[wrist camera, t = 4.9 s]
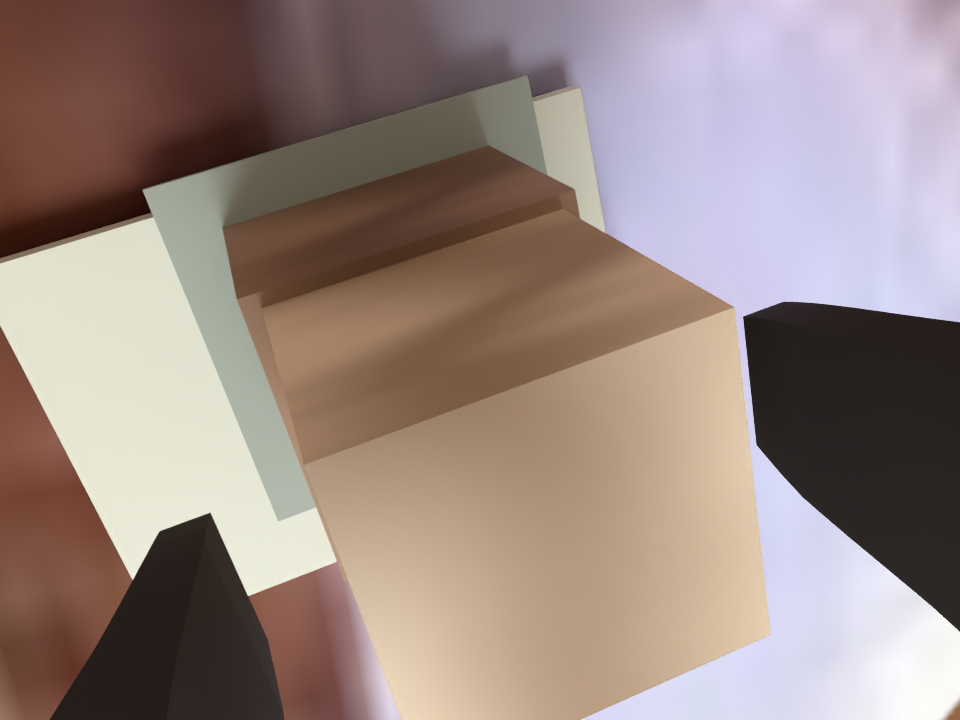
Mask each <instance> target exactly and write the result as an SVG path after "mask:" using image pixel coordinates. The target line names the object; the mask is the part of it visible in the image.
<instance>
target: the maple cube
mask: <svg viewBox="0 0 960 720" xmlns="http://www.w3.org/2000/svg"><path fill="white" fill-rule="evenodd" d="M261 309H262V312H263V316H264V320H265V323H266V327H267V331H268V334H269V338H270V342H271V345H272V349H273V353H274V356H275V360H276V364H277V367H278V371H279V375H280V378H281V382H282V386H283V389H284V393H285V397H286V400H287V404H288V408H289V411H290V415H291V419H292V422H293V426H294V429H295V433H296V437H297V440H298V444H299V448H300V451H301V455H302V459H303V462H304V466H305V468H306V471H307V474H308V476H309V479H310V481H311V484H312V487H313V489H314V492H315V495H316V497H317V500H318V502H319V505H320V508H321V510H322V513H323V515H324V518H325V521H326V523H327V526H328V529H329V531H330V534H331V536H332V539H333V542H334V544H335V547H336V550H337V552H338V555H339V557H340V560H341V563H342V565H343V568H344V570H345V573H346V576H347V578H348V581H349V584H350V586H351V589H352V591H353V594H354V597H355V599H356V602H357V605H358V607H359V610H360V612H361V615H362V618H363V620H364V623H365V625H366V628H367V631H368V633H369V636H370V639H371V641H372V644H373V646H374V649H375V652H376V654H377V657H378V659H379V662H380V665H381V667H382V670H383V673H384V675H385V678H386V680H387V683H388V686H389V688H390V691H391V694H392V696H393V699H394V701H395V704H396V707H397V709H398V712H399V714H400V717H401V720H580V719H583V718H585V717H587V716H589V715H592V714H594V713H596V712H598V711H601V710H603V709H605V708H607V707H610V706H612V705H614V704H616V703H619V702H621V701H623V700H625V699H628V698H630V697H632V696H634V695H637V694H639V693H641V692H643V691H646V690H648V689H650V688H652V687H655V686H657V685H659V684H661V683H663V682H666V681H668V680H670V679H672V678H675V677H677V676H679V675H681V674H684V673H686V672H688V671H690V670H693V669H695V668H697V667H699V666H702V665H704V664H706V663H708V662H711V661H713V660H715V659H717V658H720V657H722V656H724V655H726V654H729V653H731V652H733V651H735V650H738V649H740V648H742V647H744V646H747V645H749V644H751V643H753V642H756V641H758V640H760V639H762V638H765V637H767V636H769V635H770V626H769V617H768V607H767V598H766V589H765V580H764V571H763V562H762V553H761V544H760V535H759V526H758V517H757V508H756V499H755V490H754V481H753V472H752V463H751V454H750V445H749V436H748V427H747V418H746V409H745V400H744V391H743V381H742V372H741V363H740V354H739V345H738V336H737V327H736V318H735V309H734V307H733V306H731V305H729V304H728V303H726V302H724V301H722V300H721V299H719V298H717V297H715V296H714V295H712V294H710V293H708V292H707V291H705V290H703V289H702V288H700V287H698V286H696V285H695V284H693V283H691V282H689V281H688V280H686V279H684V278H682V277H681V276H679V275H677V274H675V273H674V272H672V271H670V270H668V269H667V268H665V267H663V266H662V265H660V264H658V263H656V262H655V261H653V260H651V259H649V258H648V257H646V256H644V255H642V254H641V253H639V252H637V251H635V250H634V249H632V248H630V247H628V246H627V245H625V244H623V243H622V242H620V241H618V240H616V239H615V238H613V237H611V236H609V235H608V234H606V233H604V232H602V231H601V230H599V229H597V228H595V227H594V226H592V225H590V224H588V223H587V222H585V221H583V220H582V219H580V218H578V217H576V216H575V215H573V214H571V213H569V212H568V211H566V210H564V209H560V210H557V211H554V212H551V213H548V214H545V215H542V216H539V217H536V218H533V219H530V220H527V221H524V222H521V223H518V224H515V225H512V226H509V227H506V228H503V229H500V230H497V231H494V232H491V233H488V234H485V235H482V236H479V237H476V238H473V239H470V240H467V241H464V242H461V243H458V244H455V245H452V246H449V247H446V248H442V249H439V250H436V251H433V252H430V253H427V254H424V255H421V256H418V257H415V258H412V259H409V260H406V261H403V262H400V263H397V264H394V265H391V266H388V267H385V268H382V269H379V270H376V271H373V272H370V273H367V274H364V275H361V276H358V277H355V278H352V279H349V280H346V281H343V282H340V283H337V284H334V285H331V286H328V287H325V288H321V289H318V290H315V291H312V292H309V293H306V294H303V295H300V296H297V297H294V298H291V299H288V300H285V301H282V302H279V303H276V304H273V305H270V306H267V307H264V308H261Z"/></svg>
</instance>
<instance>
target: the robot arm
mask: <svg viewBox="0 0 960 720" xmlns="http://www.w3.org/2000/svg"><path fill="white" fill-rule="evenodd" d="M743 319H744V329H745V338H746V348H747V357H748V367H749V377H750V386H751V396H752V405H753V415H754V424H755V434H756V443H757V446H758V447H759V448H760V449H761V451H762V452H763V453H764V454H765V455H766V457H767V458H768V459H769V460H770V461H771V462H772V464H773V465H774V466H775V467H776V468H777V469H778V471H779V472H780V473H781V474H782V475H783V476H784V477H785V478H786V480H787V481H788V482H789V483H790V484H791V485H792V486H793V487H794V488H795V489H796V490H797V491H798V493H799V494H800V495H801V496H802V497H803V498H804V499H805V500H807V501H808V502H809V503H810V504H811V505H812V506H813V507H815V508H816V509H817V510H818V511H819V512H820V513H821V514H823V515H824V516H825V517H826V518H827V519H829V520H830V521H831V522H832V523H833V524H834V525H836V526H837V527H838V528H839V529H840V530H841V531H843V532H844V533H845V534H846V535H847V536H848V537H850V538H851V539H852V540H853V541H854V542H856V543H857V544H858V545H859V546H861V547H862V548H863V549H864V550H865V551H867V552H868V553H869V554H870V555H871V556H873V557H874V558H875V559H876V560H877V561H879V562H880V563H881V564H882V565H883V566H885V567H886V568H887V569H888V570H889V571H891V572H892V573H893V574H894V575H895V576H897V577H898V578H899V579H900V580H901V581H903V582H904V583H905V584H906V585H907V586H909V587H910V588H911V589H912V590H913V591H915V592H916V593H917V594H918V595H919V596H921V597H922V598H923V599H924V600H925V601H926V602H928V603H929V604H930V605H931V606H932V607H933V608H935V609H936V610H937V611H938V612H939V613H940V614H941V615H942V616H943V617H944V618H946V619H947V620H948V621H949V622H950V623H951V624H952V625H953V626H954V627H955V628H957V629H958V630H959V631H960V322H953V321H945V320H937V319H930V318H923V317H915V316H908V315H901V314H894V313H887V312H880V311H873V310H865V309H858V308H851V307H843V306H835V305H826V304H816V303H803V302H782V303H779V304H776V305H774V306H771V307H768V308H765V309H763V310H760V311H757V312H755V313H752V314H749V315H746V316H744V317H743ZM50 720H284V714H283V708H282V704H281V699H280V694H279V689H278V684H277V679H276V675H275V671H274V666H273V662H272V657H271V653H270V648H269V644H268V639H267V637H266V635H265V633H264V631H263V628H262V626H261V624H260V622H259V619H258V617H257V615H256V613H255V611H254V608H253V606H252V604H251V602H250V599H249V597H248V595H247V593H246V591H245V588H244V586H243V584H242V582H241V579H240V577H239V575H238V573H237V571H236V568H235V566H234V564H233V562H232V559H231V557H230V555H229V553H228V551H227V548H226V546H225V544H224V542H223V539H222V537H221V535H220V533H219V530H218V528H217V526H216V524H215V522H214V519H213V517H212V515H211V513H208V514H205V515H202V516H199V517H197V518H194V519H191V520H189V521H186V522H183V523H180V524H178V525H175V526H172V527H170V528H167V529H164V530H161V531H159V533H158V535H157V536H156V538H155V540H154V542H153V544H152V545H151V547H150V549H149V551H148V553H147V555H146V556H145V558H144V560H143V562H142V564H141V566H140V568H139V569H138V571H137V573H136V575H135V577H134V579H133V581H132V583H131V584H130V586H129V588H128V590H127V592H126V594H125V596H124V598H123V599H122V601H121V603H120V605H119V607H118V609H117V611H116V612H115V614H114V616H113V618H112V619H111V621H110V623H109V625H108V626H107V628H106V630H105V632H104V634H103V635H102V637H101V639H100V641H99V642H98V644H97V646H96V648H95V649H94V651H93V653H92V654H91V656H90V657H89V659H88V660H87V662H86V664H85V665H84V667H83V668H82V670H81V671H80V673H79V675H78V676H77V678H76V679H75V681H74V682H73V684H72V686H71V687H70V689H69V690H68V692H67V693H66V695H65V697H64V698H63V700H62V701H61V703H60V704H59V706H58V708H57V709H56V711H55V712H54V714H53V715H52V717H51V719H50Z"/></svg>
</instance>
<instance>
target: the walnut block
mask: <svg viewBox="0 0 960 720" xmlns="http://www.w3.org/2000/svg"><path fill="white" fill-rule="evenodd" d="M560 209H564V210H566V211H568V212H569V213H571V214H573V215H575V216H576V217H578V218H580V214H579V209H578V203H577V198H576V192H575V189H573V188H571V187H569V186H568V185H566V184H564V183H562V182H560V181H558V180H556V179H554V178H552V177H550V176H548V175H546V174H544V173H542V172H540V171H538V170H536V169H534V168H532V167H530V166H528V165H526V164H524V163H522V162H520V161H518V160H516V159H514V158H513V157H511V156H509V155H507V154H505V153H503V152H501V151H499V150H497V149H495V148H493V147H491V146H489V145H488V146H485V147H482V148H479V149H476V150H472V151H469V152H466V153H463V154H459V155H456V156H453V157H450V158H447V159H443V160H440V161H437V162H434V163H430V164H427V165H424V166H421V167H417V168H414V169H411V170H408V171H405V172H401V173H398V174H395V175H392V176H388V177H385V178H382V179H379V180H375V181H372V182H369V183H366V184H363V185H359V186H356V187H353V188H350V189H346V190H343V191H340V192H337V193H334V194H330V195H327V196H324V197H321V198H317V199H314V200H311V201H308V202H304V203H301V204H298V205H295V206H292V207H288V208H285V209H282V210H279V211H275V212H272V213H269V214H266V215H263V216H259V217H256V218H253V219H250V220H246V221H243V222H240V223H237V224H233V225H230V226H227V227H224V228H222V229H223V234H224V239H225V244H226V249H227V254H228V259H229V264H230V269H231V274H232V279H233V283H234V288H235V293H236V298H237V301H238V304H239V307H240V309H241V312H242V314H243V317H244V320H245V322H246V325H247V328H248V330H249V333H250V335H251V338H252V341H253V343H254V346H255V348H256V351H257V354H258V356H259V359H260V362H261V364H262V367H263V369H264V372H265V375H266V377H267V380H268V382H269V385H270V388H271V390H272V393H273V396H274V398H275V401H276V403H277V406H278V409H279V411H280V414H281V416H282V419H283V422H284V424H285V427H286V430H287V432H288V435H289V437H290V440H291V443H292V445H293V448H294V450H295V453H296V456H297V458H298V461H299V464H300V466H301V469H302V471H303V474H304V477H305V479H306V482H307V484H308V487H309V490H310V492H311V495H312V498H313V500H314V503H315V505H316V508H317V511H318V513H319V516H320V518H321V521H322V524H323V526H324V529H325V532H326V534H327V537H328V539H329V542H330V545H331V547H332V550H333V552H334V555H335V558H336V560H337V563H338V565H339V568H340V571H341V573H342V576H343V579H344V581H345V582H346V581H348V578H347V576H346V573H345V570H344V568H343V565H342V563H341V560H340V557H339V555H338V552H337V550H336V547H335V544H334V542H333V539H332V536H331V534H330V531H329V529H328V526H327V523H326V521H325V518H324V515H323V513H322V510H321V508H320V505H319V502H318V500H317V497H316V495H315V492H314V489H313V487H312V484H311V481H310V479H309V476H308V474H307V471H306V468H305V466H304V462H303V459H302V455H301V451H300V448H299V444H298V440H297V437H296V433H295V429H294V426H293V422H292V419H291V415H290V411H289V408H288V404H287V400H286V397H285V393H284V389H283V386H282V382H281V378H280V375H279V371H278V367H277V364H276V360H275V356H274V353H273V349H272V345H271V342H270V338H269V334H268V331H267V327H266V323H265V320H264V316H263V312H262V309H261V308H264V307H267V306H270V305H273V304H276V303H279V302H282V301H285V300H288V299H291V298H294V297H297V296H300V295H303V294H306V293H309V292H312V291H315V290H318V289H321V288H325V287H328V286H331V285H334V284H337V283H340V282H343V281H346V280H349V279H352V278H355V277H358V276H361V275H364V274H367V273H370V272H373V271H376V270H379V269H382V268H385V267H388V266H391V265H394V264H397V263H400V262H403V261H406V260H409V259H412V258H415V257H418V256H421V255H424V254H427V253H430V252H433V251H436V250H439V249H442V248H446V247H449V246H452V245H455V244H458V243H461V242H464V241H467V240H470V239H473V238H476V237H479V236H482V235H485V234H488V233H491V232H494V231H497V230H500V229H503V228H506V227H509V226H512V225H515V224H518V223H521V222H524V221H527V220H530V219H533V218H536V217H539V216H542V215H545V214H548V213H551V212H554V211H557V210H560Z"/></svg>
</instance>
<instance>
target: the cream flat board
mask: <svg viewBox="0 0 960 720" xmlns="http://www.w3.org/2000/svg"><path fill="white" fill-rule="evenodd" d="M488 145H489V146H491V147H493V148H495V149H497V150H499V151H501V152H503V153H505V154H507V155H509V156H511V157H513V158H514V159H516V160H518V161H520V162H522V163H524V164H526V165H528V166H530V167H532V168H534V169H536V170H538V171H540V172H542V173H544V174H546V175H548V176H550V177H552V178H554V179H556V180H558V181H560V182H562V183H564V184H566V185H568V186H569V187H571V188H573V189H575V192H576V198H577V203H578V209H579V214H580V219H582V220H583V221H585V222H587V223H588V224H590V225H592V226H594V227H595V228H597V229H599V230H601V231H602V232H604V233H606V231H605V226H604V220H603V214H602V208H601V203H600V197H599V191H598V185H597V179H596V174H595V168H594V162H593V156H592V151H591V145H590V139H589V133H588V127H587V122H586V116H585V110H584V104H583V99H582V93H581V88H580V87H576V86H569V87H565V88H562V89H559V90H555V91H552V92H549V93H546V94H542V95H539V96H536V97H532V94H531V89H530V84H529V79H528V75H525V76H521V77H518V78H514V79H511V80H508V81H504V82H501V83H498V84H494V85H491V86H487V87H484V88H481V89H477V90H474V91H471V92H467V93H464V94H461V95H457V96H454V97H450V98H447V99H444V100H440V101H437V102H434V103H430V104H427V105H423V106H420V107H417V108H413V109H410V110H407V111H403V112H400V113H397V114H393V115H390V116H386V117H383V118H380V119H376V120H373V121H370V122H366V123H363V124H359V125H356V126H353V127H349V128H346V129H343V130H339V131H336V132H333V133H329V134H326V135H322V136H319V137H316V138H312V139H309V140H306V141H302V142H299V143H296V144H292V145H289V146H285V147H282V148H279V149H275V150H272V151H269V152H265V153H262V154H258V155H255V156H252V157H248V158H245V159H242V160H238V161H235V162H232V163H228V164H225V165H221V166H218V167H215V168H211V169H208V170H205V171H201V172H198V173H194V174H191V175H188V176H184V177H181V178H178V179H174V180H171V181H168V182H164V183H161V184H157V185H154V186H151V187H147V188H144V189H143V193H144V195H145V198H146V200H147V202H148V205H149V207H150V210H151V212H152V213H148V214H145V215H142V216H139V217H135V218H132V219H129V220H125V221H122V222H119V223H115V224H112V225H109V226H105V227H102V228H99V229H96V230H92V231H89V232H86V233H82V234H79V235H76V236H72V237H69V238H66V239H62V240H59V241H56V242H53V243H49V244H46V245H43V246H39V247H36V248H33V249H29V250H26V251H23V252H19V253H16V254H13V255H10V256H6V257H3V258H0V326H1V328H2V330H3V332H4V333H5V335H6V337H7V339H8V341H9V343H10V345H11V347H12V349H13V351H14V353H15V355H16V357H17V358H18V360H19V362H20V364H21V366H22V368H23V370H24V372H25V374H26V376H27V378H28V380H29V382H30V383H31V385H32V387H33V389H34V391H35V393H36V395H37V397H38V399H39V401H40V403H41V405H42V407H43V408H44V410H45V412H46V414H47V416H48V418H49V420H50V422H51V424H52V426H53V428H54V430H55V432H56V433H57V435H58V437H59V439H60V441H61V443H62V445H63V447H64V449H65V451H66V453H67V455H68V457H69V458H70V460H71V462H72V464H73V466H74V468H75V470H76V472H77V474H78V476H79V478H80V480H81V482H82V483H83V485H84V487H85V489H86V491H87V493H88V495H89V497H90V499H91V501H92V503H93V505H94V507H95V508H96V510H97V512H98V514H99V516H100V518H101V520H102V522H103V524H104V526H105V528H106V530H107V532H108V533H109V535H110V537H111V539H112V541H113V543H114V545H115V547H116V549H117V551H118V553H119V555H120V557H121V558H122V560H123V562H124V564H125V566H126V568H127V570H128V572H129V574H130V576H131V578H132V580H133V579H134V577H135V575H136V573H137V571H138V569H139V568H140V566H141V564H142V562H143V560H144V558H145V556H146V555H147V553H148V551H149V549H150V547H151V545H152V544H153V542H154V540H155V538H156V536H157V535H158V533H159V531H161V530H164V529H167V528H170V527H172V526H175V525H178V524H180V523H183V522H186V521H189V520H191V519H194V518H197V517H199V516H202V515H205V514H208V513H211V515H212V517H213V519H214V522H215V524H216V526H217V528H218V530H219V533H220V535H221V537H222V539H223V542H224V544H225V546H226V548H227V551H228V553H229V555H230V557H231V559H232V562H233V564H234V566H235V568H236V571H237V573H238V575H239V577H240V579H241V582H242V584H243V586H244V588H245V591H246V593H247V595H248V596H249V595H252V594H255V593H257V592H260V591H262V590H265V589H267V588H270V587H273V586H275V585H278V584H280V583H283V582H286V581H288V580H291V579H293V578H296V577H298V576H301V575H304V574H306V573H309V572H311V571H314V570H317V569H319V568H322V567H324V566H327V565H329V564H332V563H335V562H337V560H336V558H335V555H334V552H333V550H332V547H331V545H330V542H329V539H328V537H327V534H326V532H325V529H324V526H323V524H322V521H321V518H320V516H319V513H318V511H317V508H316V505H315V503H314V500H313V498H312V495H311V492H310V490H309V487H308V484H307V482H306V479H305V477H304V474H303V471H302V469H301V466H300V464H299V461H298V458H297V456H296V453H295V450H294V448H293V445H292V443H291V440H290V437H289V435H288V432H287V430H286V427H285V424H284V422H283V419H282V416H281V414H280V411H279V409H278V406H277V403H276V401H275V398H274V396H273V393H272V390H271V388H270V385H269V382H268V380H267V377H266V375H265V372H264V369H263V367H262V364H261V362H260V359H259V356H258V354H257V351H256V348H255V346H254V343H253V341H252V338H251V335H250V333H249V330H248V328H247V325H246V322H245V320H244V317H243V314H242V312H241V309H240V307H239V304H238V301H237V298H236V293H235V288H234V283H233V279H232V274H231V269H230V264H229V259H228V254H227V249H226V244H225V239H224V234H223V229H222V228H224V227H227V226H230V225H233V224H237V223H240V222H243V221H246V220H250V219H253V218H256V217H259V216H263V215H266V214H269V213H272V212H275V211H279V210H282V209H285V208H288V207H292V206H295V205H298V204H301V203H304V202H308V201H311V200H314V199H317V198H321V197H324V196H327V195H330V194H334V193H337V192H340V191H343V190H346V189H350V188H353V187H356V186H359V185H363V184H366V183H369V182H372V181H375V180H379V179H382V178H385V177H388V176H392V175H395V174H398V173H401V172H405V171H408V170H411V169H414V168H417V167H421V166H424V165H427V164H430V163H434V162H437V161H440V160H443V159H447V158H450V157H453V156H456V155H459V154H463V153H466V152H469V151H472V150H476V149H479V148H482V147H485V146H488Z"/></svg>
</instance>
